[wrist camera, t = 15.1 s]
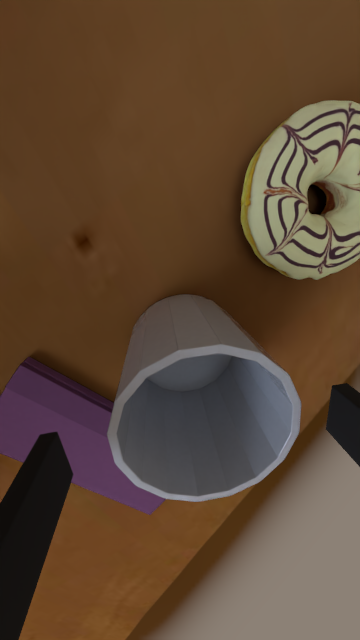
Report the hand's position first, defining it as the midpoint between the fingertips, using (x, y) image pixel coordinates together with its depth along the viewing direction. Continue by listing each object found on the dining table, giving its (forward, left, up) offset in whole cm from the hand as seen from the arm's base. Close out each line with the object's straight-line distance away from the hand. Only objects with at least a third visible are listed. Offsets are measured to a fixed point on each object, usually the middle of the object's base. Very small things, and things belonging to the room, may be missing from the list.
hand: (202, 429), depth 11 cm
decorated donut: (+11, +10, -10) cm, 18 cm away
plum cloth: (-9, -10, -10) cm, 17 cm away
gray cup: (0, 0, -10) cm, 10 cm away
